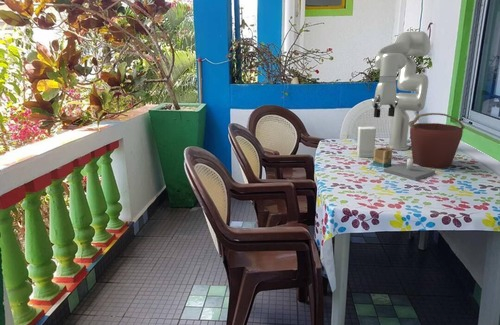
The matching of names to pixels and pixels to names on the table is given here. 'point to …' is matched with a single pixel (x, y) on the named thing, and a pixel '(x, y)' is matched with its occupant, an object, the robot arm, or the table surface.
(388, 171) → the pin board
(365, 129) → the skincare box
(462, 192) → the table surface
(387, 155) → the wooden sleeve
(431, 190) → the table surface
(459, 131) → the bucket
